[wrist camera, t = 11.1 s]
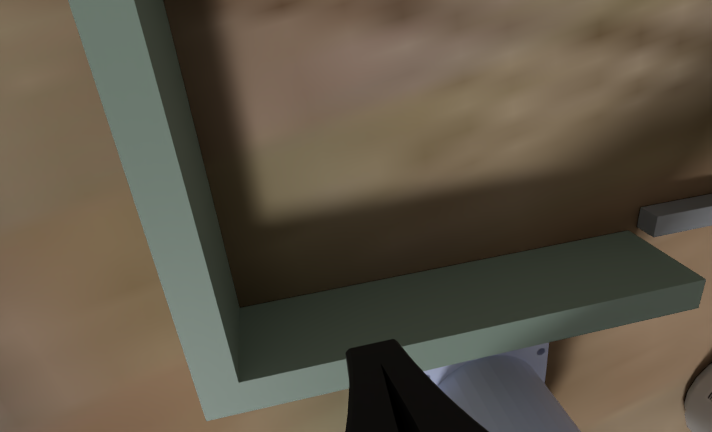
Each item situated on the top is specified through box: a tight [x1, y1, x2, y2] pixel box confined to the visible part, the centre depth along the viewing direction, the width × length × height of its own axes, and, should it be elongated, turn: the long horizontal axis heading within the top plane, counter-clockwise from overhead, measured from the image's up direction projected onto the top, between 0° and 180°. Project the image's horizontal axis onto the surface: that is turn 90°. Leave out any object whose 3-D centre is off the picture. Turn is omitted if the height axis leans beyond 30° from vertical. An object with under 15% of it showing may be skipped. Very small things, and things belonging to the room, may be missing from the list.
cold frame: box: [68, 0, 706, 421], centre depth 19 cm, size 20×23×5 cm
